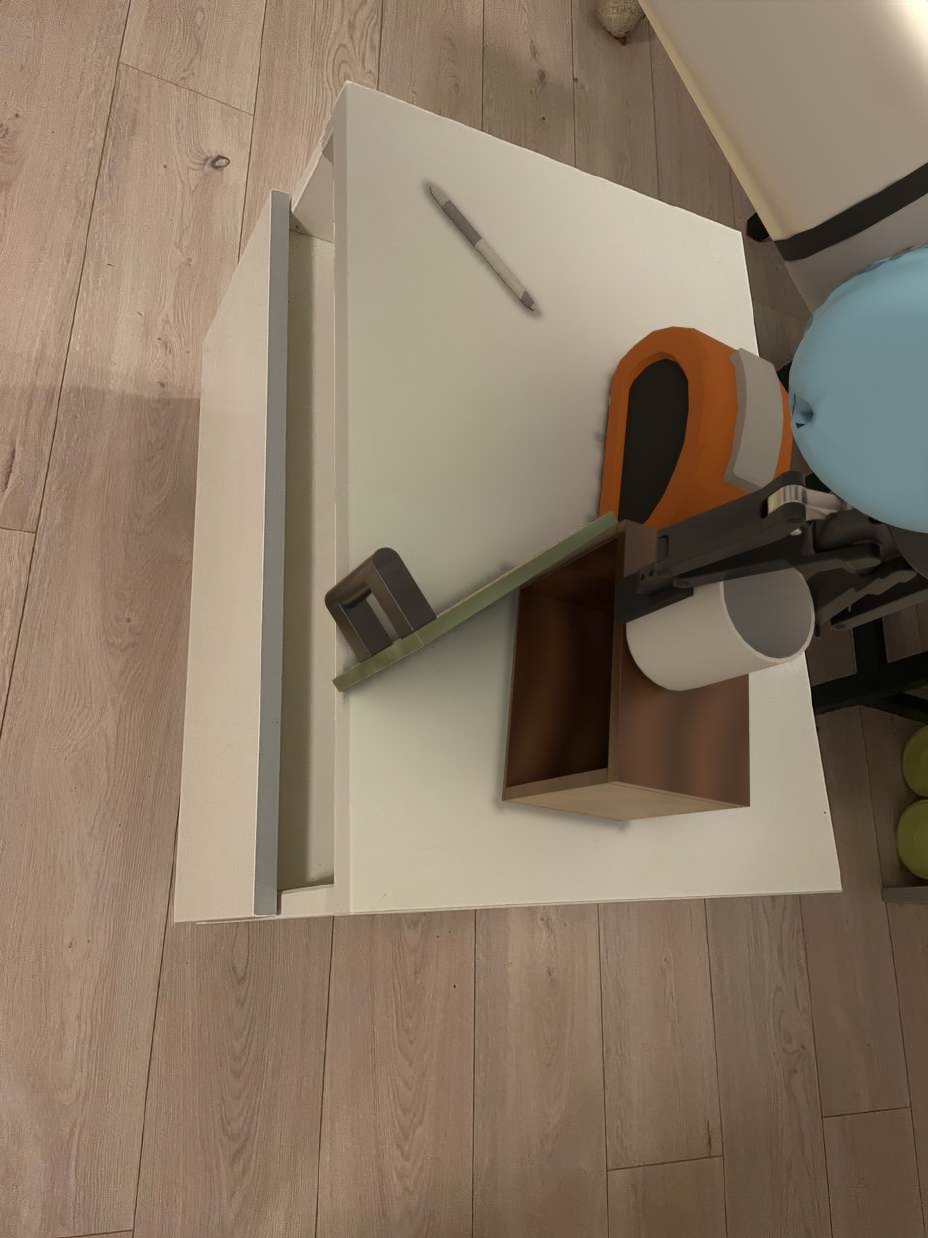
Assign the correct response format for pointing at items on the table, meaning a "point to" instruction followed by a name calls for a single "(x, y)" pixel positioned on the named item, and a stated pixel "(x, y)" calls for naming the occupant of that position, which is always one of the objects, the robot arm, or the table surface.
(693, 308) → the table surface
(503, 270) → the pen
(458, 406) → the table surface
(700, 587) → the cup
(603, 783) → the cupboard
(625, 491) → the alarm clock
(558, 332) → the table surface
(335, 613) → the cupboard door
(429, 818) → the table surface
